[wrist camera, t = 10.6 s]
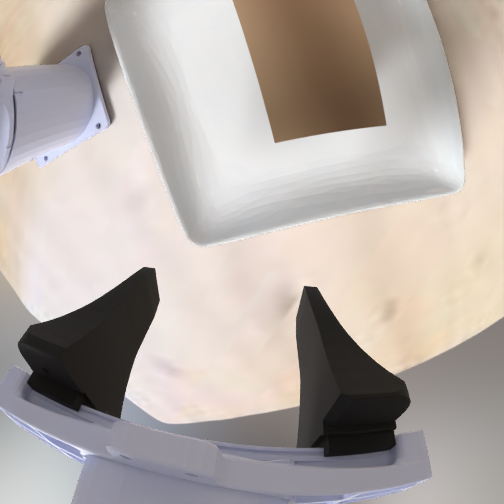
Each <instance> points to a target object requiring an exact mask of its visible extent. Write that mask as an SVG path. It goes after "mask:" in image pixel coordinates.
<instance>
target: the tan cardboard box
mask: <svg viewBox="0 0 504 504" xmlns="http://www.w3.org/2000/svg"><path fill="white" fill-rule="evenodd" d="M233 3H234V6H235V9H236V12H237V15H238V18H239V21H240V24H241V27H242V30H243V33H244V36H245V40H246V43H247V46H248V49H249V52H250V56H251V59H252V62H253V66H254V69H255V72H256V76H257V79H258V83H259V86H260V90H261V93H262V97H263V101H264V104H265V108H266V112H267V115H268V119H269V123H270V127H271V130H272V134H273V138H274V142H275V143H278V142H283V141H288V140H293V139H298V138H304V137H309V136H315V135H320V134H326V133H333V132H339V131H346V130H353V129H361V128H369V127H378V126H387V125H386V119H385V113H384V107H383V102H382V97H381V92H380V87H379V82H378V78H377V74H376V69H375V65H374V61H373V58H372V54H371V50H370V47H369V43H368V40H367V36H366V33H365V30H364V27H363V24H362V21H361V18H360V15H359V12H358V9H357V7H356V4H355V1H354V0H233Z"/></svg>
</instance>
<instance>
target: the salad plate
mask: <svg viewBox="0 0 504 504" xmlns="http://www.w3.org/2000/svg"><path fill="white" fill-rule="evenodd" d="M354 1H355V4H356V7H357V9H358V12H359V15H360V18H361V21H362V24H363V27H364V30H365V33H366V36H367V40H368V43H369V47H370V50H371V54H372V58H373V61H374V65H375V69H376V74H377V78H378V82H379V87H380V92H381V97H382V102H383V107H384V113H385V119H386V125H387V126H378V127H369V128H361V129H353V130H346V131H339V132H333V133H326V134H320V135H315V136H309V137H304V138H298V139H293V140H288V141H283V142H278V143H275V142H274V138H273V134H272V130H271V127H270V123H269V119H268V115H267V112H266V108H265V104H264V101H263V97H262V93H261V90H260V86H259V83H258V79H257V76H256V72H255V69H254V66H253V62H252V59H251V56H250V52H249V49H248V46H247V43H246V40H245V36H244V33H243V30H242V27H241V24H240V21H239V18H238V15H237V12H236V9H235V6H234V3H233V0H106V1H105V4H104V11H105V16H106V21H107V25H108V28H109V31H110V35H111V38H112V41H113V44H114V47H115V50H116V53H117V56H118V59H119V62H120V65H121V68H122V71H123V74H124V77H125V80H126V83H127V86H128V89H129V92H130V95H131V97H132V100H133V103H134V106H135V109H136V111H137V114H138V117H139V119H140V122H141V125H142V127H143V130H144V133H145V136H146V139H147V141H148V144H149V147H150V150H151V153H152V155H153V158H154V161H155V164H156V166H157V169H158V171H159V174H160V177H161V179H162V182H163V185H164V187H165V190H166V193H167V195H168V198H169V200H170V203H171V205H172V208H173V210H174V213H175V215H176V217H177V220H178V222H179V224H180V227H181V228H182V230H183V232H184V234H185V235H186V237H187V238H188V240H189V241H190V242H191V243H192V244H193V245H194V246H197V247H211V246H217V245H222V244H226V243H231V242H235V241H239V240H242V239H247V238H251V237H255V236H259V235H263V234H267V233H271V232H274V231H278V230H282V229H287V228H291V227H295V226H299V225H303V224H307V223H312V222H316V221H320V220H325V219H329V218H334V217H338V216H343V215H348V214H352V213H357V212H362V211H368V210H372V209H377V208H382V207H388V206H393V205H398V204H404V203H410V202H415V201H421V200H426V199H432V198H437V197H442V196H447V195H452V194H455V193H458V192H460V191H461V190H462V188H463V186H464V183H465V162H464V148H463V139H462V131H461V123H460V116H459V110H458V105H457V99H456V94H455V89H454V85H453V80H452V76H451V72H450V68H449V65H448V61H447V57H446V53H445V50H444V47H443V44H442V41H441V38H440V35H439V32H438V29H437V26H436V23H435V20H434V17H433V15H432V12H431V10H430V7H429V5H428V2H427V0H354Z"/></svg>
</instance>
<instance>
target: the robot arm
mask: <svg viewBox="0 0 504 504" xmlns="http://www.w3.org/2000/svg"><path fill="white" fill-rule="evenodd" d="M80 52H81V54H80V56H79V53H80ZM5 66H6V65H5V62H4V61H3V60H2V58H1V56H0V176H2V175H4V174H6V173H8V172H10V171H12V170H14V169H16V168H18V167H20V166H22V165H24V164H26V163H28V162H31V161H33V160H35V159H36V161H37V164H38V166H39V167H43V166H45V165H46V164H48V163H49V162H51V161H52V160H54V159H55V158H57V157H59V156H60V155H62V154H63V153H65V152H66V151H68V150H70V149H71V148H73V147H75V146H76V145H78V144H80V143H82V142H83V141H85V140H87V139H89V138H90V137H92V136H94V135H96V134H98V133H100V132H101V131H103V130H105V129H107V128H108V127H109V126H110V119H109V116H108V112H107V109H106V106H105V102H104V99H103V96H102V92H101V89H100V85H99V81H98V78H97V74H96V70H95V66H94V62H93V58H92V54H91V49H90V46H88V45H83V46H81V47H80V48H79V49H77V50H76V51H74V52H73V53H72V54H70V55H69V56H68V57H66V58H65V59H64V60H62V61H61V62H60V63H58V64H54V65H29V66H17V67H7V68H5ZM99 123H100V124H101V128H99V127H98V125H99ZM47 157H48V159H47ZM159 301H160V298H159V292H158V286H157V279H156V271H155V268H148V267H143V268H142V269H140V270H139V271H137V272H136V273H134V274H133V275H132V276H130V277H129V278H128V279H126V280H125V281H123V282H122V283H121V284H119V285H118V286H116V287H115V288H114V289H112V290H111V291H109V292H108V293H106V294H105V295H103V296H102V297H100V298H98V299H97V300H95V301H93V302H92V303H90V304H88V305H86V306H84V307H82V308H80V309H78V310H76V311H73V312H71V313H69V314H67V315H64V316H61V317H59V318H56V319H53V320H50V321H46V322H42V323H39V324H34V325H30V327H29V328H28V329H27V331H26V332H25V334H24V335H23V337H22V338H21V339H20V341H19V342H18V348H19V350H20V352H21V354H22V356H23V357H24V359H25V360H26V362H27V363H28V364H29V365H30V367H31V369H32V370H33V373H32V375H30V374H28V373H27V372H26V371H24V370H22V369H21V368H19V367H17V366H15V365H12V366H11V367H10V369H9V370H8V372H7V373H6V375H5V377H4V379H3V380H2V382H1V384H0V409H1V410H2V411H3V412H4V413H5V414H6V415H7V416H8V417H10V418H11V419H12V420H13V421H14V422H15V423H16V424H17V425H19V426H20V427H22V428H23V429H25V430H26V431H28V432H29V433H31V434H32V435H34V436H35V437H37V438H39V439H40V440H42V441H43V442H45V443H46V444H48V445H50V446H51V447H53V448H55V449H57V450H58V451H60V452H62V453H64V454H65V455H67V456H69V457H71V458H73V459H75V460H77V461H78V462H80V463H83V464H84V465H83V468H82V471H81V474H80V477H79V480H78V484H77V487H76V490H75V493H74V496H73V500H72V503H71V504H343V503H350V502H356V501H361V500H366V499H371V498H376V497H381V496H385V495H389V494H394V493H397V492H401V491H404V490H406V489H408V488H411V487H413V486H415V485H417V484H419V483H421V482H423V481H425V480H427V479H429V478H431V477H432V472H431V466H430V461H429V456H428V451H427V446H426V442H425V437H424V433H423V430H416V431H411V432H406V433H401V434H398V435H396V436H395V435H394V430H395V429H396V422H395V420H396V419H397V418H399V417H400V416H401V414H403V413H404V412H405V411H406V409H407V408H408V407H409V405H410V402H411V401H410V398H409V394H408V390H407V387H406V384H405V382H404V381H403V380H401V379H400V378H398V377H397V376H395V375H393V374H392V373H390V372H389V371H387V370H386V369H385V368H383V367H382V366H381V365H379V364H378V363H377V362H376V361H375V360H373V359H372V358H371V357H370V356H369V355H368V354H367V353H366V352H364V351H363V350H362V349H361V348H360V347H359V346H358V345H357V343H356V342H355V341H354V340H353V339H352V338H351V337H350V336H349V335H348V333H347V332H346V331H345V329H344V328H343V327H342V326H341V324H340V323H339V321H338V320H337V319H336V317H335V316H334V314H333V313H332V311H331V310H330V308H329V306H328V305H327V303H326V302H325V300H324V298H323V297H322V295H321V293H320V291H319V290H318V288H317V287H309V286H304V289H303V293H302V297H301V301H300V305H299V309H298V313H297V317H296V340H297V349H298V358H299V368H300V381H301V383H300V415H299V428H298V440H297V448H278V447H261V446H249V445H238V444H231V443H223V442H216V441H209V440H203V439H197V438H193V437H187V436H183V435H178V434H173V433H169V432H165V431H161V430H157V429H153V428H149V427H145V426H142V425H138V424H135V423H132V422H129V421H125V420H122V419H120V417H121V411H122V405H123V401H124V396H125V392H126V387H127V384H128V380H129V376H130V373H131V369H132V366H133V363H134V360H135V357H136V355H137V352H138V350H139V348H140V346H141V344H142V341H143V339H144V337H145V335H146V333H147V331H148V329H149V327H150V325H151V323H152V321H153V319H154V316H155V313H156V310H157V307H158V304H159Z"/></svg>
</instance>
